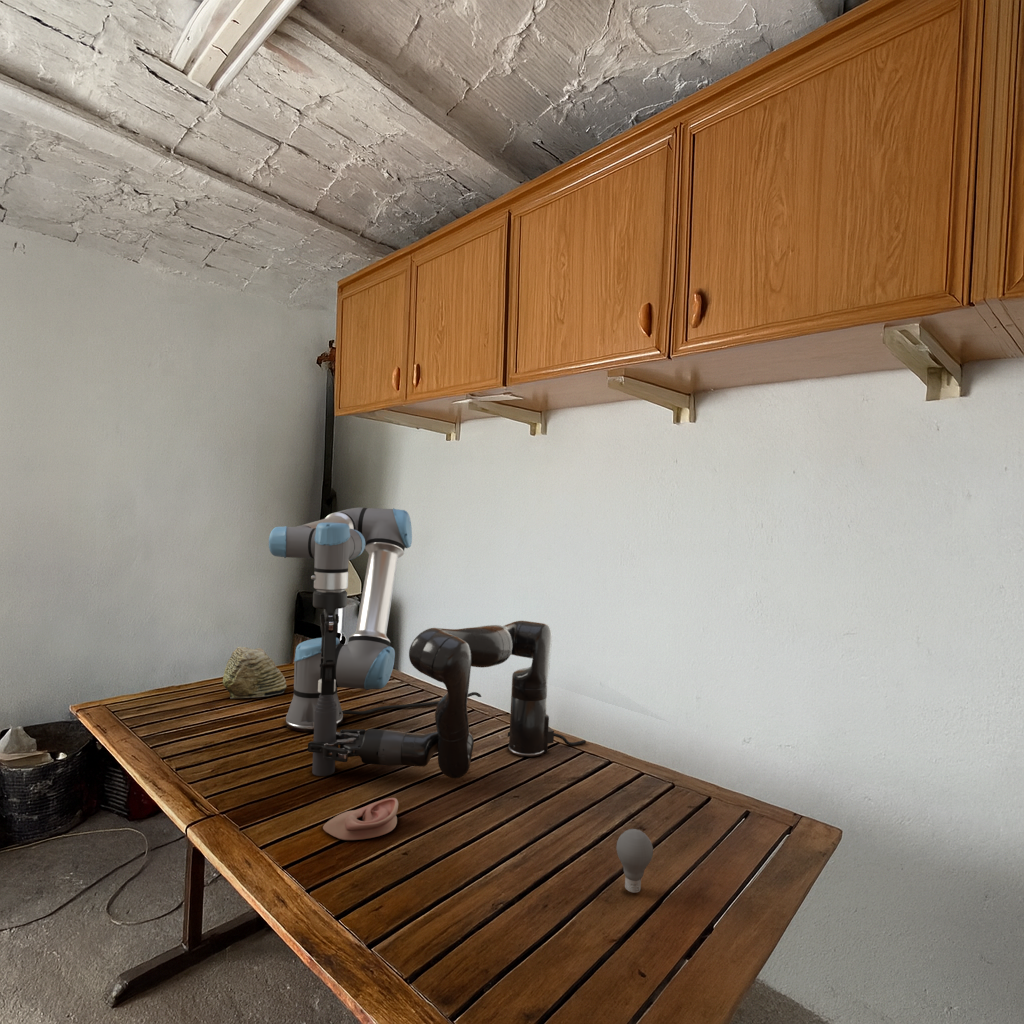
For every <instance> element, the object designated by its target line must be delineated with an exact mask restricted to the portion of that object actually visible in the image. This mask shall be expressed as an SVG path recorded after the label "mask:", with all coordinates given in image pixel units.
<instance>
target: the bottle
mask: <svg viewBox="0 0 1024 1024" xmlns="http://www.w3.org/2000/svg"><path fill="white" fill-rule="evenodd" d="M336 726H337V704H336V701H335V698H334V695H319V698H318V701H317V705H316V706H315V713H314V732H313V740H312V741H314V742H325V743H328V742H335V741H336V732H337V727H338V726H337V727H336ZM331 747H335V746H331ZM323 755H324V753H315V752H312V768H311V769H312V770H311V772H312V774H313V775H314V776H317V777H328V776H331V775H332V774H334V773H335V771H336V761H334V760H329V759H324V758H323Z"/></svg>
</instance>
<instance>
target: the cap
mask: <svg viewBox="0 0 1024 1024" xmlns="http://www.w3.org/2000/svg"><path fill="white" fill-rule="evenodd" d="M321 684H322V679H320V680H319V681H318V692H320V693H321ZM335 687H336V680H335V679H334V691H335Z"/></svg>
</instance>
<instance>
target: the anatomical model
mask: <svg viewBox="0 0 1024 1024" xmlns="http://www.w3.org/2000/svg"><path fill="white" fill-rule="evenodd" d="M398 809H399V801H398V799H397V798H396V797H389V798H388V797H387V798H383V799H381V800H378V801H375V802H372V803H369V804H367V805H365V806H363V807H360V808H357V809H353V810H352V809H351V810H348V811H344V812H341V813H340V814H337V815H336V816H333V818H330V819H329V820H328V821H327V822H325V823H324V824H323V826H322V830H323V831H324V832H325V833H326V834H329V835H330V836H332V837H334V838H337V839H339V840H342V841H358V840H359V841H360V840H366V839H373V838H377V837H380V836H383V835H386V834H388V833H390V832H392V831H393V830H394V829H395V828H396V826H397V824H398V817H397V813H398Z"/></svg>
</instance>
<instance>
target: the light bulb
mask: <svg viewBox="0 0 1024 1024" xmlns="http://www.w3.org/2000/svg"><path fill="white" fill-rule="evenodd" d="M615 849H616V854H617V857H618V859H619V861H620V863H621V865H622V867H623V873H624V874H623V875H624V876H625V878H624V888H625V890H627V891H628V892H630V893H634V894H635V893H639V892H640V891H641V889H642V887H641V886H642V879H643V877H644V875H645V871H646V868H647V867H648V866H649V864H650V863H651V861H652V859H653V855H654V847H653V843H652V841H651V838H649V836H648V835H647V834H646V833H645V832H643V831H642V830H641V829H636V828H629V829H627V830H625V831H623V832H622V833H621V834H620V835H619V837H618V839H617V841H616V847H615Z"/></svg>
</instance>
